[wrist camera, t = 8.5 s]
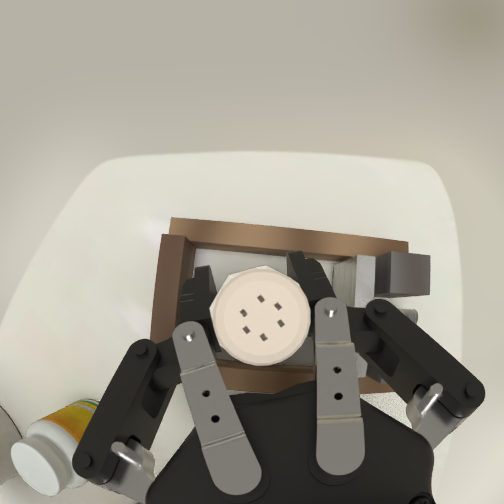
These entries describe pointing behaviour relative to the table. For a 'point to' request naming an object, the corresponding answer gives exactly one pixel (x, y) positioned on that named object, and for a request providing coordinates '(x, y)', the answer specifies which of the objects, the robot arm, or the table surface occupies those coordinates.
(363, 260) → the pusher
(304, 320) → the pepper shaker
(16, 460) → the supplement bottle
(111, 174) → the table surface
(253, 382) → the tray
